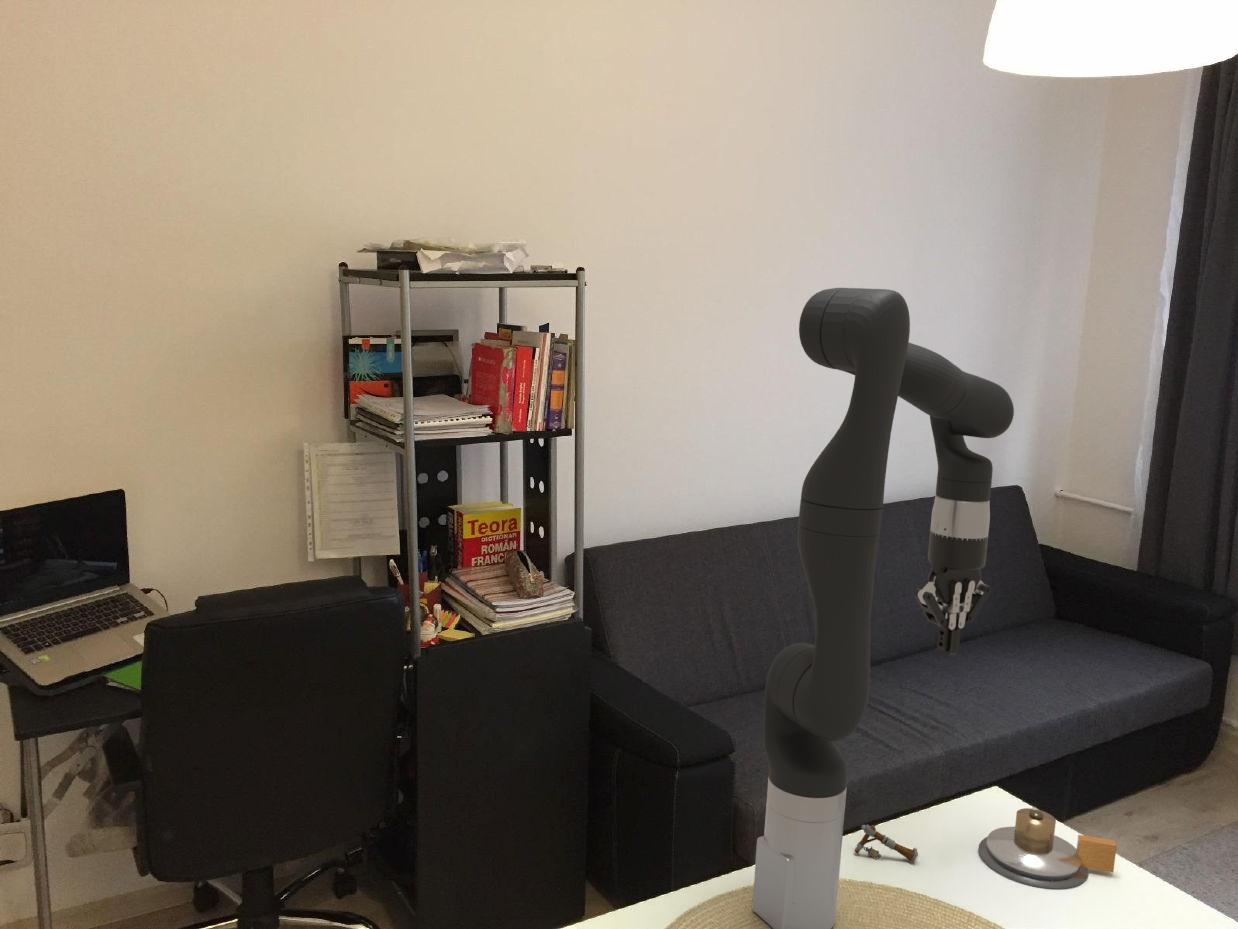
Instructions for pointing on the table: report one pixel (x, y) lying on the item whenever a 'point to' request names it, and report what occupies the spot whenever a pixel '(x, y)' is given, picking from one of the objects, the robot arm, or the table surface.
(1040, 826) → the cover
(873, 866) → the table surface
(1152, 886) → the table surface
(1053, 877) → the silver disc with handle
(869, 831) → the toy blunderbuss
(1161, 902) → the table surface
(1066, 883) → the base plate
